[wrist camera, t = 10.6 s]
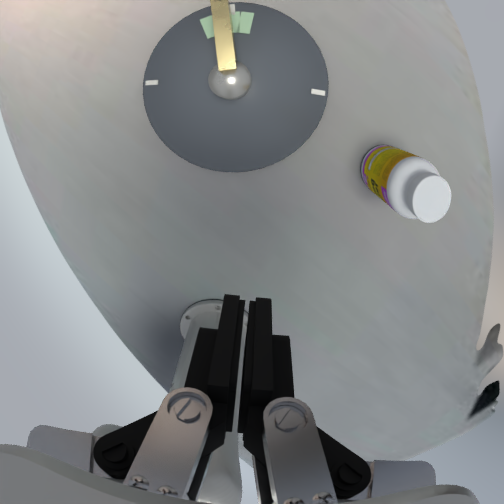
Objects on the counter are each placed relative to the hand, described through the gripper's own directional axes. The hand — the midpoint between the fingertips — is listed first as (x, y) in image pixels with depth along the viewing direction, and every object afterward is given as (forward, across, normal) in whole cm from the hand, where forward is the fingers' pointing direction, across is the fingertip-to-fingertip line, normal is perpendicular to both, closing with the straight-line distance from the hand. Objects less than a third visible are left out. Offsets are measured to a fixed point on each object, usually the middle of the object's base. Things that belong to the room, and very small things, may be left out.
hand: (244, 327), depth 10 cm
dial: (+27, +4, -11) cm, 30 cm away
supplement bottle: (+27, -16, -3) cm, 32 cm away
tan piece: (+26, +5, -15) cm, 30 cm away
